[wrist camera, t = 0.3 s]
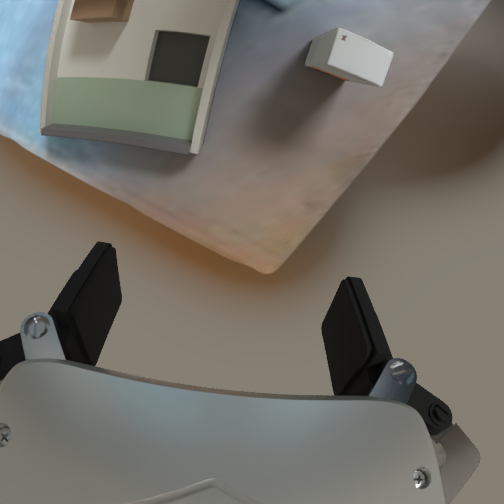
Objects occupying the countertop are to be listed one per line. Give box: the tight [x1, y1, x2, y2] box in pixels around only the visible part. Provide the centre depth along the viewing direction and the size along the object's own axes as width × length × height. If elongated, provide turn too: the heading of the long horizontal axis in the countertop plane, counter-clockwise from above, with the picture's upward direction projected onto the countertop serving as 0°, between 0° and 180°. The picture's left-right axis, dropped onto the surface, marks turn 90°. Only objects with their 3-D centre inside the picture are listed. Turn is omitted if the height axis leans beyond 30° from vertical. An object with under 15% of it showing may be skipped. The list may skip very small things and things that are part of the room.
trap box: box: [40, 0, 240, 155], centre depth 26 cm, size 32×24×5 cm
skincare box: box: [304, 27, 394, 87], centre depth 26 cm, size 6×4×12 cm
